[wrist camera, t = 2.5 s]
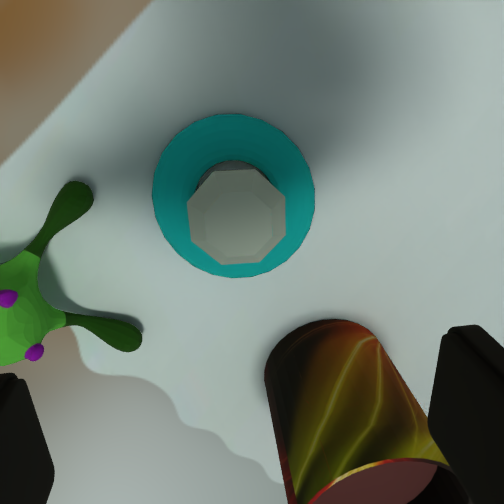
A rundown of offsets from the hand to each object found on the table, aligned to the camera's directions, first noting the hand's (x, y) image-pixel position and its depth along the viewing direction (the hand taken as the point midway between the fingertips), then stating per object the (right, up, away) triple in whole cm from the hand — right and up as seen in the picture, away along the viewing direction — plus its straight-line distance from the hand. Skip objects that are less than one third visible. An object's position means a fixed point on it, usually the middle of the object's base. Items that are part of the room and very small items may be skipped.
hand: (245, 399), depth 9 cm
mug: (+8, -6, +24) cm, 26 cm away
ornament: (+4, +8, +14) cm, 17 cm away
